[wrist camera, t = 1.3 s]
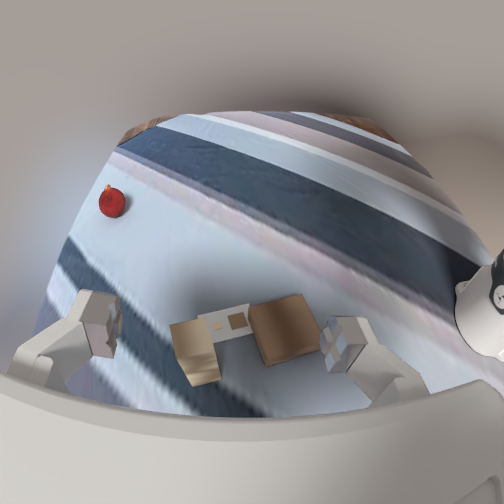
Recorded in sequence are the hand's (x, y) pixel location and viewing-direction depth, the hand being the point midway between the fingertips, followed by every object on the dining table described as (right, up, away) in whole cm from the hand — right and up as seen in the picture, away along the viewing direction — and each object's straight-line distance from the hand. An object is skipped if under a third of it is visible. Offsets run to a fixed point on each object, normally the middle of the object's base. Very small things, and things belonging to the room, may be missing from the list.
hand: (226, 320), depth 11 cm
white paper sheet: (-3, -8, +30) cm, 31 cm away
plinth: (+5, -9, +29) cm, 31 cm away
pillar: (-6, -13, +25) cm, 29 cm away
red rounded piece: (-28, +10, +47) cm, 56 cm away
